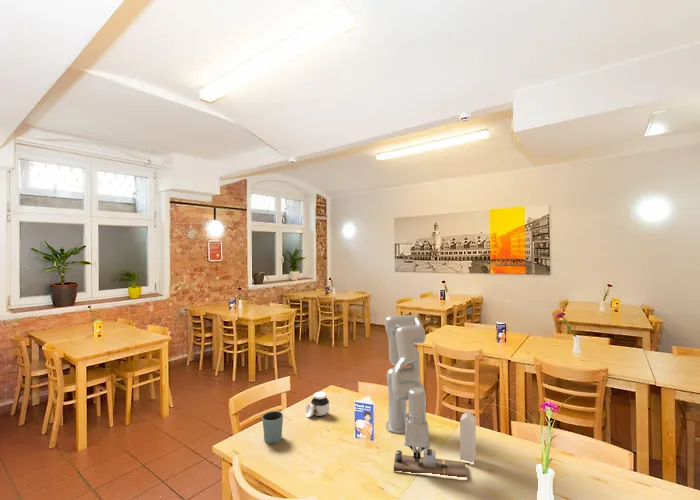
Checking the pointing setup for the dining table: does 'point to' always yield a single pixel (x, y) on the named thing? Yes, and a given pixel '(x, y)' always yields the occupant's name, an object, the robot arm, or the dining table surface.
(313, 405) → the spread jar
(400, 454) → the fixed leg
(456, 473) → the board
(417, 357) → the robot arm
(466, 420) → the milk
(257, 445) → the dining table surface
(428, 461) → the sliding leg
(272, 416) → the blue-grey cup
